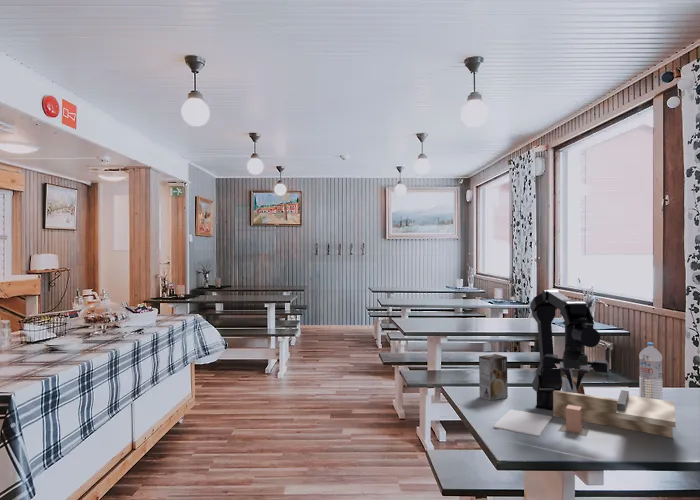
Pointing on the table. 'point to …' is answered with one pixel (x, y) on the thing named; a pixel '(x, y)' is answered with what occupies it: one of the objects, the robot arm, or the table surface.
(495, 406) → the table surface
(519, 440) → the table surface
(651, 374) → the water bottle
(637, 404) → the lid
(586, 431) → the pad
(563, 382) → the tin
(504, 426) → the grey mat
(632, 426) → the rail
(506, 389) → the coffee box
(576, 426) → the block
